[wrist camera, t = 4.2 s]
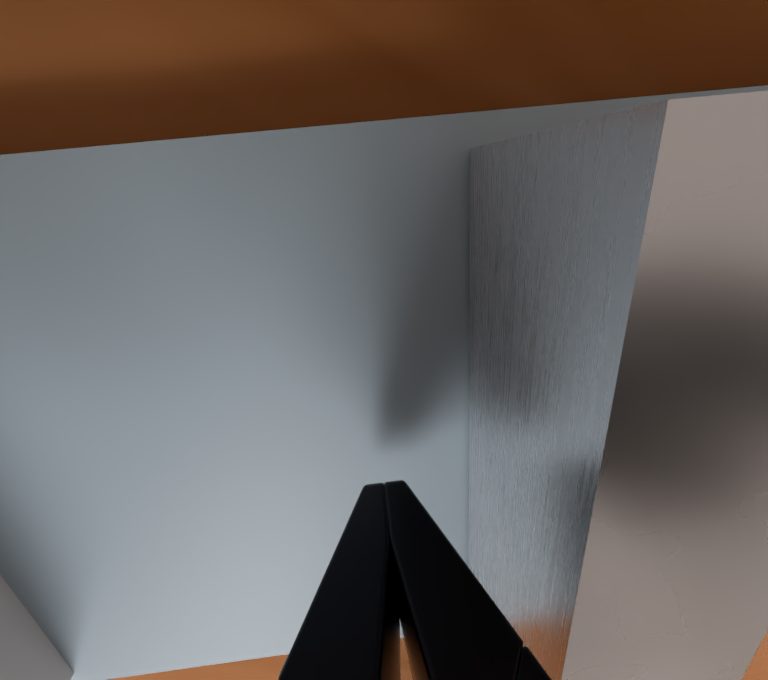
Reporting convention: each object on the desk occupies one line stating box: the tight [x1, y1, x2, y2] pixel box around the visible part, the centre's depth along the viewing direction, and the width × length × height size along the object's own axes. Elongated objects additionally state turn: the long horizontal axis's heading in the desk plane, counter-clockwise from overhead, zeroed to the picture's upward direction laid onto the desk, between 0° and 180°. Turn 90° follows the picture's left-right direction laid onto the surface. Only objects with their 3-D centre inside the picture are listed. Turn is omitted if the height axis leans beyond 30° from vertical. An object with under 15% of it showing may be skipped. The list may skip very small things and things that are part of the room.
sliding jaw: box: [468, 91, 768, 680], centre depth 6 cm, size 2×12×4 cm, turn 5°
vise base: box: [0, 85, 768, 680], centre depth 7 cm, size 22×13×5 cm, turn 95°
